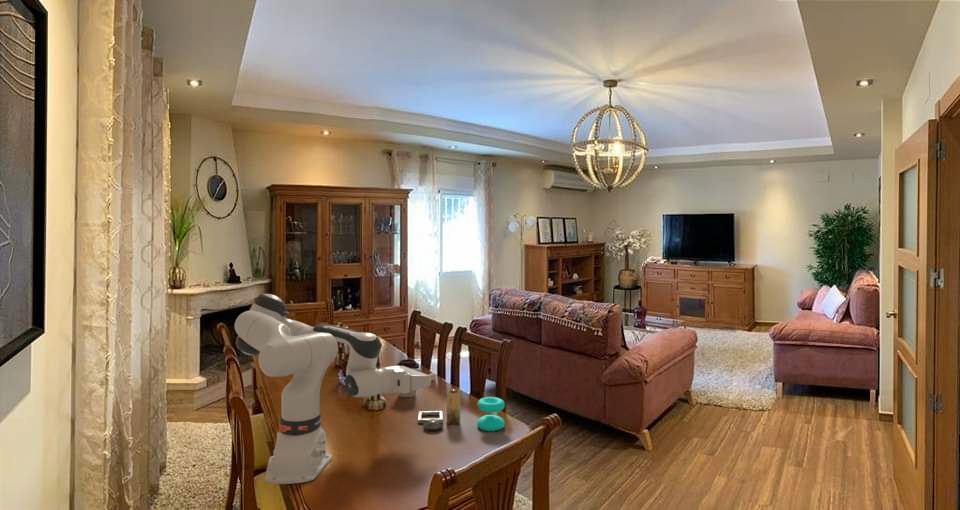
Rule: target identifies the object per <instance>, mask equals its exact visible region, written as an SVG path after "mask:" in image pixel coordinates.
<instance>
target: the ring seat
mask: <svg viewBox="0 0 960 510" xmlns="http://www.w3.org/2000/svg"><path fill="white" fill-rule="evenodd" d="M428 415H434V416H439V418H436V419H439V420H441V421H443V420H444V419H443V410H428V411H427V410H425V411H423V410H422V411H421V410H420V411H419V410H418V416H417V422H418V425H419V423H421V424H422V423H424V421H426V420H429V419H428V418H422V417H426V416H427V417H428ZM443 422H444V421H443Z"/></svg>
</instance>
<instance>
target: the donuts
mask: <svg viewBox="0 0 960 510" xmlns="http://www.w3.org/2000/svg"><path fill="white" fill-rule="evenodd" d="M505 403H506V402H505V401H504V400H503V399H501V398H500V397H497V396H496V397H495V396H486V397H482V398H480V399H479V400H478V401H477V404H476V405H477V408H478V409H479V410H480V411H482V412H485V413H487V414H486V415H485V414H484V415H482V416H481V417H479V418H478V420H477V421H476V422H477V423H476V426H477V427H478V428H479V429H480V430H483V431H485V430H487V431H486V432H496V431H495V430H498V431H500V430H501V429H503V428H504V427H505V420H504V419H503V417H501V416H499V415H495V414H494V413H499V412H501V411H502V410H504V408H505V406H506V405H505ZM488 413H491V414H488ZM499 429H500V430H499Z"/></svg>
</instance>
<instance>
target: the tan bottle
mask: <svg viewBox="0 0 960 510" xmlns="http://www.w3.org/2000/svg"><path fill="white" fill-rule="evenodd" d="M461 393H462V392H461V390H460V389H458V388H450V389H448V390H447V391H446V425H447V424H448V426H450V425H457V426H459V425H460V424H461ZM458 424H459V425H458Z"/></svg>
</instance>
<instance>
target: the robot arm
mask: <svg viewBox="0 0 960 510" xmlns="http://www.w3.org/2000/svg"><path fill="white" fill-rule="evenodd" d="M289 313H290V312H289V311H287V306H286V303H285V302H284V301H283V300H282V299H281V298H280V297H278V296H277V295H275V294H272V293H261V294H259V295H258V296H257V297H256V298H255V299H254V301H253V304H252V306H251V307H250V309H249V310H246V311H244V312H242V313H240V314H239V315H238V317H236V319H235V322H234V329H235V331H234V332H235V333H236V334H237V336H236V340H235V346H236V349H237V350H239V351H240V352H242V353H244V354H245V355H249V356H258V365H259V368H260V370H261V372H262V373H264V375H266V376H267V377H271V378H272V377H273V378H274V377H275V378H276V377H287V376H290V375H293V377H292V378H291V380H290V381H289V382H288V383H287V385H286V386H284V388H283V390H282V392H281V416H280V418H279V423H278V424H279V426H278V432H277V433H276V440H275V446H274V449H273V450H272V454H273V455H272V456H270V457H269V459H268V462H267V467H266V471H265V476H264V482H266V483H269V484H275V485H289V484H290V485H291V484H301V483H307V482H310V481H314V480H315V479H316V478H317V476H318V475H319V474H320V473H321V472H322V471H323V470H324V469H325V467H326V466H327V465H328V464H329V463H330V461H332V459H333V455H332V454H331V453H328V452H327V451H328V450H327V449H328V447H327V433H326V431H325V430H324V429H323V428H322V427H321V424H322V417H321V415H322V414H321V412H320V394H321V393H320V392H321V387H322V383H323V379H324V376H325V375H326V372H327V369H328V367H330V365H331V363H332V362H333V361H334V360H335V359H336V358H337V355H338V352H339V344H338V343H342V344H345V345H348V348H349V356H348V360H347V365H346V370H345V375H346V376H345V378H344V387H345V390H346V393H347V394H348V395H349V396H350V397H353V398H370V397H374V396H378V395H379V394H380V395H381V394H384V395H385V394H391V393H392V394H393V393H394V394H395V393H398V394H399V393H409V392H410V390H416V391H417V390H423V389H425V388H428V387H430V386H431V385H432V384H431V382H432V381H433V380H437V374H436V373H434V372H433V373H429V374H426V373H424V372H423V369H422V368H419V369H410V368H408V367H405V366H397V365H396V364H395V365H389V366H383V367H380V368H377V365H378V364H377V363H378V359H379V355H380V352H381V348H382V346H383V345H382V342H381V340H380V338H379V337H378V336H377V335H376V334H374V333H372V332H368V331H358V330H354V329H350V328H346V327H344V326H343V327H341V326H338V325H334V324H329V323H319V324H316V325H315V326H311V325H308V324H306V323H303V322H301V321H298V320H295V319H291V318H287V317H286V315H287V316H289Z"/></svg>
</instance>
